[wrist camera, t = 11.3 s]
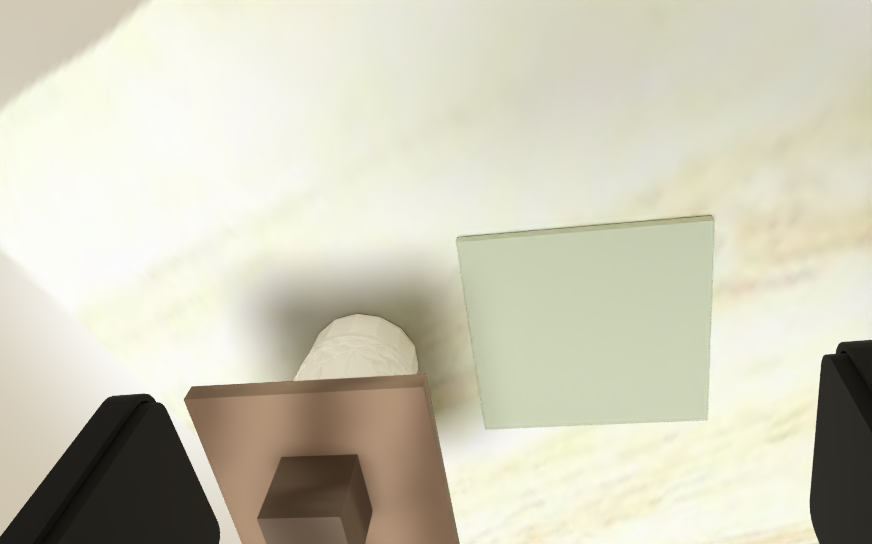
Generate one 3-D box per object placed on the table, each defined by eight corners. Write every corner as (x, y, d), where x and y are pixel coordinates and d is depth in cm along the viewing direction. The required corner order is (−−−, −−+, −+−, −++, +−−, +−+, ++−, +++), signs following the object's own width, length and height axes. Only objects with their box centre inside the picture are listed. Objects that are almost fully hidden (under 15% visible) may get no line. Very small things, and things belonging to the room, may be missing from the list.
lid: (425, 373, 36) (411, 447, 31) (460, 546, 41) (451, 628, 37) (191, 386, 38) (148, 457, 33) (255, 549, 43) (225, 627, 39)
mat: (711, 215, 41) (714, 220, 40) (705, 413, 47) (707, 420, 47) (456, 237, 43) (456, 242, 42) (485, 423, 50) (485, 429, 49)
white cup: (372, 422, 51) (340, 541, 42) (282, 352, 49) (229, 463, 40) (453, 360, 48) (436, 477, 39) (360, 281, 45) (320, 387, 37)
